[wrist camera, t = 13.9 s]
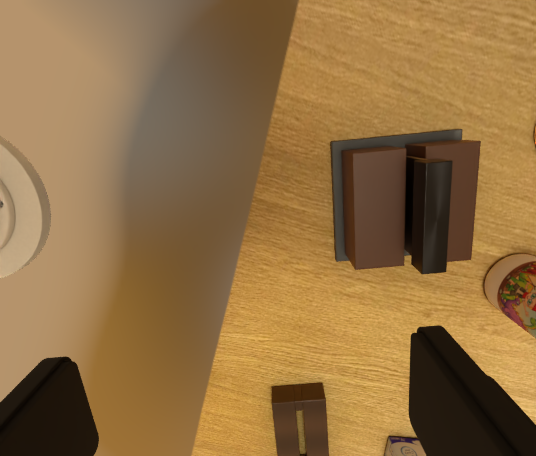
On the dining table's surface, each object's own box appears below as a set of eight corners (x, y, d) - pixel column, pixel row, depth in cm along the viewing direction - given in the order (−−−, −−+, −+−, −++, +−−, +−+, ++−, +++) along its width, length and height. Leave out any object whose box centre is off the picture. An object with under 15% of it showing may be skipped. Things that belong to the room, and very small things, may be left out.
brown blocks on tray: (335, 259, 41) (345, 279, 35) (330, 141, 37) (341, 143, 31) (450, 249, 40) (480, 268, 35) (458, 129, 36) (492, 128, 31)
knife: (405, 239, 39) (446, 272, 30) (386, 241, 39) (421, 274, 30) (407, 153, 36) (453, 160, 27) (386, 155, 36) (426, 162, 27)
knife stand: (326, 459, 49) (330, 480, 47) (280, 463, 50) (280, 483, 47) (322, 382, 46) (325, 399, 43) (271, 386, 46) (271, 403, 43)
